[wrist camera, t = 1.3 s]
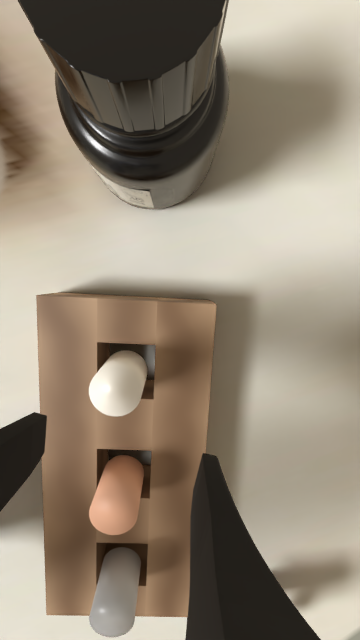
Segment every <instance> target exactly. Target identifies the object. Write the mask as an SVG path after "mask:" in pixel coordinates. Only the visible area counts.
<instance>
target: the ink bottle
mask: <svg viewBox="0 0 360 640" xmlns="http://www.w3.org/2000/svg"><path fill="white" fill-rule="evenodd" d="M18 2H19V4H20V6H21V7H22V9H23V11H24V13H25V14H26V16H27V18H28V20H29V22H30V23H31V25H32V27H33V29H34V32H35V34H36V36H37V38H38V39H39V41H40V43H41V45H42V46H43V48H44V50H45V52H46V54H47V55H48V57H49V59H50V61H51V62H52V64H53V66H54V68H55V86H56V94H57V100H58V104H59V108H60V112H61V115H62V118H63V120H64V123H65V125H66V127H67V130H68V132H69V134H70V135H71V137H72V139H73V141H74V142H75V144H76V145H77V147H78V148H79V150H80V151H81V152H82V154H83V155H84V157H85V158H86V159H87V161H88V162H89V164H90V165H91V166H92V168H93V169H94V170H95V172H96V173H97V174H98V176H99V177H100V178H101V180H102V181H103V182H104V184H105V185H106V186H107V187H108V189H109V190H110V191H111V192H112V193H113V194H114V195H116V196H117V197H118V198H119V199H121V200H122V201H124V202H126V203H128V204H130V205H132V206H135V207H138V208H143V209H161V208H166V207H169V206H172V205H175V204H177V203H179V202H181V201H183V200H184V199H186V198H187V197H189V196H190V195H191V194H192V193H193V192H194V191H195V190H196V189H197V188H198V187H199V186H200V185H201V183H202V182H203V180H204V179H205V177H206V175H207V173H208V171H209V168H210V166H211V163H212V159H213V156H214V153H215V150H216V147H217V144H218V141H219V138H220V135H221V132H222V129H223V126H224V122H225V119H226V114H227V109H228V100H229V79H228V70H227V65H226V60H225V57H224V53H223V50H222V47H221V44H220V43H221V38H222V33H223V28H224V23H225V18H226V13H227V8H228V3H229V0H18Z"/></svg>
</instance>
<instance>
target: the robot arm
mask: <svg viewBox="0 0 360 640" xmlns="http://www.w3.org/2000/svg"><path fill="white" fill-rule="evenodd" d="M46 424H47V415H43V414H39V413H35V412H34V413H32V414H30V415H28V416H26V417H24V418H22V419H20V420H18V421H16V422H13V423H11V424H9V425H7V426H5V427H3V428H1V429H0V511H1V510H2V509H3V507H4V506H5V505H6V504H7V503H8V501H9V500H10V499H11V498H12V497H13V495H14V494H15V493H16V492H17V490H18V489H19V488H20V487H21V486H22V484H23V483H24V482H25V481H26V479H27V478H28V477H29V476H30V474H31V473H32V471H33V470H34V468H35V467H36V465H37V464H38V462H39V461H40V459H41V457H42V456H43V454H44V453H45V438H46ZM186 640H321V639H320V638H319V637H318V636H317V635H316V633H315V632H314V631H313V630H312V628H311V627H310V626H309V625H308V623H307V622H306V621H305V619H304V618H303V617H302V615H301V614H300V613H299V611H298V610H297V609H296V607H295V606H294V605H293V603H292V602H291V601H290V599H289V598H288V596H287V595H286V593H285V592H284V590H283V589H282V587H281V586H280V584H279V583H278V581H277V580H276V578H275V577H274V575H273V574H272V572H271V571H270V569H269V568H268V566H267V564H266V563H265V561H264V559H263V558H262V556H261V554H260V553H259V551H258V549H257V547H256V546H255V544H254V542H253V540H252V538H251V536H250V535H249V533H248V531H247V529H246V527H245V525H244V523H243V521H242V519H241V517H240V515H239V512H238V510H237V508H236V506H235V503H234V501H233V499H232V496H231V494H230V492H229V489H228V487H227V484H226V481H225V479H224V476H223V473H222V470H221V467H220V464H219V460H218V458H217V457H216V456H213V455H209V454H205V453H203V454H202V457H201V461H200V465H199V469H198V473H197V477H196V481H195V484H194V488H193V496H192V505H191V515H190V590H189V605H188V617H187V630H186Z"/></svg>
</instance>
